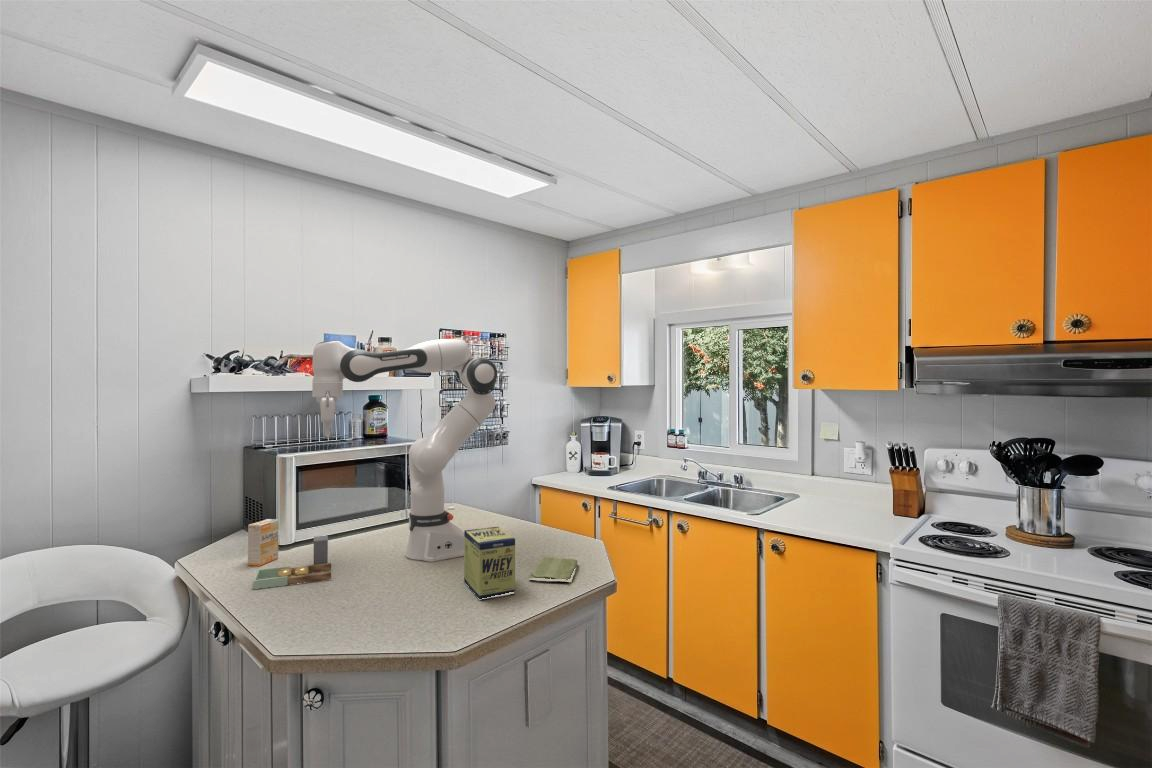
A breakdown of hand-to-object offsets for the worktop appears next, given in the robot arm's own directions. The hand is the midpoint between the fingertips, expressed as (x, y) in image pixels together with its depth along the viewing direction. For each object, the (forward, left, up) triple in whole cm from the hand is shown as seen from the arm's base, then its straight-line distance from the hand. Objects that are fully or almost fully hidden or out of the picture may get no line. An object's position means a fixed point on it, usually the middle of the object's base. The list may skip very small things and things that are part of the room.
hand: (327, 434), depth 175 cm
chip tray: (+14, +9, -42) cm, 45 cm away
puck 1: (+11, +9, -42) cm, 44 cm away
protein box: (-42, +39, -42) cm, 71 cm away
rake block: (+2, 0, -42) cm, 42 cm away
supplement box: (+19, -12, -42) cm, 47 cm away
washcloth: (-64, +35, -42) cm, 84 cm away
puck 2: (+7, +9, -42) cm, 43 cm away
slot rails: (+5, +9, -42) cm, 43 cm away
